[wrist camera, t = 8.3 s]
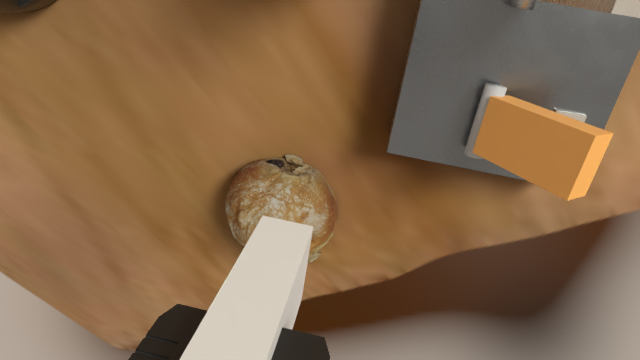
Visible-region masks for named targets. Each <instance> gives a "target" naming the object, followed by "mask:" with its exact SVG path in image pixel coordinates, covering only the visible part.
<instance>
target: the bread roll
mask: <svg viewBox="0 0 640 360" xmlns="http://www.w3.org/2000/svg"><path fill="white" fill-rule="evenodd" d="M225 211H226V218H227V221H228V224H229V227H230V229H231V231H232V234H233V237H234V238H235V239H236V240H237V241H238V242H239V243H240V244H241V246H243V247H245V245H246V244H247V242H248V240H249V238H250V237H251V235H252V233H253V232H254V230H255V228H256V226H257V225H258V223H259V221H260V219H261V218H262V216H268V217H272V218H277V219H281V220H286V221H291V222H295V223H300V224H305V225H309V226H313V232H312V238H311V244H310V250H309V256H308V262H307V263H310V262H313V260H315V259H317V258H318V257H319V255H320V253H321V252H320V253H319V251H318V250H319V249H321V248H322V247H323V246H324V245H326V244H327V243H328V242H329V239H330V238H331V237H332V236H333V234H334V227H335V223H336V221H337V220H338V202H337V199H336V197H335V194H334V193H333V191H332V188H331V187H330V186H329V185H328V183H327V182H326V180H325V178H324V177H323V175H322V174H321V173H320V172H319V171H318V170H317V169H315V168H313V167H311V166H309V165H307V164H304V163H303V160H302V158H300V157H298V156H295V155H285V158H271V159H265V160H258V161H256V162H253V163H250V164H248V165H246V166H245V167H244V168H242V169H241V170H240V171H239V172H238V173H237V174H236V176H235V177H234V179H233V180H232V182H231V184H230V186H229V190H228V193H227V197H226V203H225Z"/></svg>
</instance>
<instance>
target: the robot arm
mask: <svg viewBox="0 0 640 360" xmlns="http://www.w3.org/2000/svg"><path fill="white" fill-rule="evenodd" d="M54 1H56V0H0V13H2V14H7V13H19V12H29V11H34V10H38V9H41V8H44V7H46V6H48V5H50V4H51V3H53V2H54ZM312 232H313V226H309V225H305V224H300V223H295V222H291V221H286V220H281V219H277V218H272V217H268V216H262V218H261V219H260V221H259V223H258V225H257V226H256V228H255V230H254V232H253V233H252V235H251V237H250V238H249V240H248V242H247V244H246V245H245V247H244V249H243V251H242V252H241V254H240V256H239V258H238V259H237V261H236V263H235V264H234V266H233V268H232V270H231V271H230V273H229V275H228V277H227V278H226V280H225V282H224V283H223V285H222V287H221V289H220V290H219V292H218V294H217V296H216V297H215V299H214V301H213V303H212V304H211V306H210V308H209V309H208V311H206V310H202V309H198V308H193V307H189V306H185V305H181V304H177V305H175V306H174V307H173V308H171V309H170V310H168V311H167V312H165V313H164V314H162V315H161V316H159V317H158V319H157V320H156V322H155V323H154V324H153V326H152V327H151V329H150V330H149V331H148V333H147V334H146V337H145V338H144V339H143V340H142V341H141V343H140V344H139V346H138V347H137V348H136V351H135V353H133V354H132V355H131V357H130V358H129V360H329V359H330V355H329V352H328V348H327V345H326V341H325V338H324V337H321V336H316V335H312V334H308V333H304V332H299V331H296V330H292V328H293V325H294V322H295V319H296V315H297V312H298V309H299V306H300V303H301V299H302V293H303V287H304V281H305V275H306V268H307V262H308V256H309V250H310V244H311V238H312Z"/></svg>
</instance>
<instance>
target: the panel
mask: <svg viewBox="0 0 640 360" xmlns="http://www.w3.org/2000/svg"><path fill="white" fill-rule="evenodd" d="M639 49H640V0H419V4H418V8H417V12H416V17H415V21H414V26H413V30H412V34H411V39H410V43H409V48H408V52H407V56H406V61H405V65H404V70H403V74H402V79H401V83H400V87H399V92H398V96H397V101H396V105H395V109H394V114H393V118H392V123H391V127H390V131H389V136H388V146H387V153H392V154H397V155H402V156H407V157H412V158H417V159H422V160H427V161H432V162H436V163H441V164H446V165H451V166H456V167H461V168H466V169H471V170H476V171H481V172H486V173H491V174H496V175H501V176H506V177H511V178H516V179H521V180H525V179H523V178H521V177H519V176H517V175H515V174H514V173H512V172H510V171H508V170H506V169H504V168H502V167H500V166H498V165H496V164H494V163H492V162H490V161H488V160H486V159H484V158H483V159H475V158H471V157H469V156H467V155H465V154H464V151H465V148H466V145H467V141H468V138H469V135H470V132H471V128H472V125H473V122H474V119H475V116H476V112H477V109H478V106H479V103H480V99H481V96H482V93H483V90H484V87H485V84H486V83H493V84H498V85H501V86H504V87H506V88H507V90H506V93H505V95H510V96H512V97H515V98H518V99H521V100H523V101H526V102H529V103H532V104H534V105H537V106H540V107H543V108H545V109H548V110H551V111H554V112H556V113H559V114H562V115H565V116H567V117H570V118H573V119H576V120H578V121H581V122H584V123H587V124H589V125H592V126H595V127H598V128H600V129H603V130H604V128H605V125H606V123H607V121H608V119H609V116H610V114H611V112H612V110H613V107H614V105H615V103H616V101H617V98H618V96H619V94H620V92H621V89H622V87H623V85H624V83H625V80H626V78H627V76H628V74H629V71H630V69H631V67H632V65H633V63H634V60H635V58H636V56H637V54H638V51H639ZM526 181H527V180H526Z"/></svg>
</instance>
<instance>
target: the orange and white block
mask: <svg viewBox="0 0 640 360" xmlns="http://www.w3.org/2000/svg"><path fill="white" fill-rule="evenodd" d="M506 90H507V88H506V87H504V86H501V85H498V84H493V83H486V84H485V87H484V90H483V93H482V96H481V99H480V103H479V106H478V109H477V112H476V116H475V119H474V122H473V125H472V128H471V132H470V135H469V138H468V141H467V145H466V148H465V151H464V154H465V155H467V156H469V157H471V158H475V159H483V158H484V159H486V160H488V161H490V162H492V163H494V164H496V165H498V166H500V167H502V168H504V169H506V170H508V171H510V172H512V173H514V174H515V175H517V176H519V177H521V178H523V179H525V180H527V181H529V182H531V183H533V184H535V185H537V186H539V187H541V188H543V189H545V190H547V191H549V192H551V193H553V194H555V195H557V196H559V197H561V198H563V199H565V200H567V201H568V200H572V199H575V198H579V197H582V196H585V195H586V193H587V190H588V188H589V186H590V184H591V182H592V179H593V177H594V175H595V173H596V171H597V169H598V166H599V164H600V162H601V160H602V158H603V155H604V153H605V151H606V149H607V147H608V145H609V142H610V140H611V138H612V136H613V134H614V133H612V132H609V131H606V130H603V129H600V128H598V127H595V126H592V125H589V124H587V123H584V122H581V121H578V120H576V119H573V118H570V117H567V116H565V115H562V114H559V113H556V112H554V111H551V110H548V109H545V108H543V107H540V106H537V105H534V104H532V103H529V102H526V101H523V100H521V99H518V98H515V97H512V96H510V95H505V93H506Z"/></svg>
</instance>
